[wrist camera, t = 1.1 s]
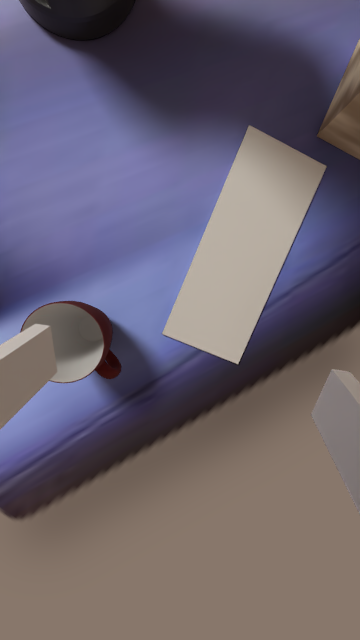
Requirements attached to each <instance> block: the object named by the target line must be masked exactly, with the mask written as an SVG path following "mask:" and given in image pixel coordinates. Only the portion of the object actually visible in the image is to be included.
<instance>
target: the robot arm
mask: <svg viewBox="0 0 360 640" xmlns="http://www.w3.org/2000/svg"><path fill="white" fill-rule="evenodd" d="M19 1H20V2H21V4H22V5H23V7H24V8H25V9H26V11H27V12H28V13H29V14H30V15H31V16H32V17H33V18H34V19H35V20H36V21H37V22H38V23H39V24H40V25H42V26H43V27H44V28H46V29H47V30H49V31H51V32H53V33H55V34H57V35H60V36H62V37H65V38H70V39H76V40H88V39H94V38H98V37H101V36H104V35H106V34H108V33H109V32H111V31H113V30H114V29H115V28H117V27H118V26H119V25H120V24H121V23H122V22H123V21H124V20H125V18H126V17H127V15H128V14H129V12H130V11H131V9H132V7H133V4H134V2H135V0H19ZM56 373H57V366H56V359H55V353H54V346H53V340H52V333H51V327H50V326H48V325H41V324H34V325H32V326H31V327H29V328H28V329H26V330H24V331H23V332H21V333H19V334H18V335H16V336H14V337H13V338H11V339H9V340H8V341H6V342H5V343H3V344H1V345H0V429H1V428H2V427H3V426H4V425H5V424H6V423H7V422H8V421H9V420H10V419H11V418H12V417H13V416H14V415H15V414H16V413H17V412H18V411H19V410H20V409H21V408H22V407H23V406H24V405H25V404H26V403H27V402H28V401H29V400H30V399H31V398H32V397H33V396H34V395H35V394H36V393H37V392H38V391H39V390H40V389H41V388H42V387H43V386H44V385H45V384H46V383H47V382H48V381H49V380H50V379H51V378H52V377H53V376H54V375H55V374H56ZM311 416H312V418H313V420H314V422H315V424H316V426H317V428H318V430H319V432H320V434H321V436H322V438H323V440H324V442H325V445H326V446H327V449H328V451H329V453H330V455H331V457H332V459H333V461H334V463H335V465H336V467H337V469H338V471H339V473H340V475H341V477H342V479H343V481H344V483H345V485H346V487H347V489H348V491H349V493H350V495H351V498H352V500H353V502H354V504H355V506H356V507H357V510H358V512H359V514H360V383H359V382H358V380H357V379H356V378H355V377H354V376H353V375H352V373H351V372H348V371H341V370H335V369H332V370H331V372H330V374H329V376H328V379H327V381H326V383H325V385H324V387H323V389H322V392H321V394H320V396H319V398H318V400H317V402H316V405H315V407H314V409H313V411H312V413H311Z"/></svg>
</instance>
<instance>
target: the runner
mask: <svg viewBox="0 0 360 640" xmlns="http://www.w3.org/2000/svg"><path fill="white" fill-rule="evenodd" d="M326 167H327V166H325V165H323V164H321V163H320V162H318V161H316V160H314V159H312V158H310V157H308V156H306V155H305V154H303V153H301V152H299V151H297V150H295V149H293V148H291V147H290V146H288V145H286V144H284V143H282V142H280V141H278V140H276V139H275V138H273V137H271V136H269V135H267V134H265V133H263V132H261V131H260V130H258V129H256V128H254V127H252V126H250V125H249V127H248V129H247V131H246V134H245V136H244V138H243V141H242V143H241V146H240V148H239V150H238V153H237V155H236V158H235V160H234V162H233V165H232V167H231V170H230V172H229V174H228V177H227V179H226V182H225V184H224V186H223V189H222V191H221V194H220V196H219V198H218V201H217V203H216V206H215V208H214V210H213V213H212V215H211V218H210V220H209V222H208V225H207V227H206V230H205V232H204V234H203V237H202V239H201V242H200V244H199V246H198V249H197V251H196V254H195V256H194V258H193V261H192V263H191V266H190V268H189V270H188V273H187V275H186V278H185V280H184V282H183V285H182V287H181V290H180V292H179V294H178V297H177V299H176V302H175V304H174V306H173V309H172V311H171V314H170V316H169V318H168V321H167V323H166V326H165V328H164V330H163V333H162V334H164V335H166V336H168V337H171V338H173V339H176V340H178V341H181V342H183V343H186V344H188V345H191V346H193V347H196V348H198V349H201V350H203V351H206V352H208V353H211V354H213V355H216V356H218V357H221V358H223V359H226V360H228V361H231V362H233V363H236V364H238V363H239V361H240V359H241V356H242V354H243V352H244V350H245V348H246V345H247V343H248V341H249V339H250V336H251V334H252V332H253V330H254V327H255V325H256V323H257V321H258V319H259V316H260V314H261V312H262V310H263V307H264V305H265V303H266V301H267V299H268V296H269V294H270V292H271V290H272V287H273V285H274V283H275V281H276V278H277V276H278V274H279V272H280V270H281V267H282V265H283V263H284V261H285V258H286V256H287V254H288V252H289V249H290V247H291V245H292V243H293V241H294V238H295V236H296V234H297V232H298V229H299V227H300V225H301V223H302V221H303V218H304V216H305V214H306V212H307V209H308V207H309V205H310V203H311V200H312V198H313V196H314V194H315V192H316V189H317V187H318V185H319V183H320V180H321V178H322V176H323V174H324V172H325V169H326Z"/></svg>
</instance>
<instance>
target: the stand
mask: <svg viewBox="0 0 360 640" xmlns="http://www.w3.org/2000/svg"><path fill="white" fill-rule="evenodd" d="M317 137H319V138H321V139H323V140H324V141H326V142H328V143H330V144H332V145H334V146H335V147H337V148H339V149H341V150H343V151H345V152H346V153H348V154H350V155H352V156H354V157H355V158H357V159H359V160H360V39H359V41H358V43H357V46H356V48H355V50H354V52H353V55H352V57H351V59H350V62H349V64H348V66H347V68H346V71H345V73H344V75H343V77H342V80H341V82H340V84H339V86H338V89H337V91H336V93H335V96H334V98H333V100H332V102H331V105H330V107H329V109H328V111H327V114H326V116H325V118H324V121H323V123H322V125H321V127H320V130H319V132H318V134H317Z"/></svg>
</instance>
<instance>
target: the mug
mask: <svg viewBox="0 0 360 640" xmlns="http://www.w3.org/2000/svg"><path fill="white" fill-rule="evenodd" d="M34 324H41V325H48V326H50V327H51V333H52V340H53V346H54V353H55V359H56V366H57V373H56V374H55V375H54V376H53V377H52V378H51V379H50V380H49V381H52V382H56V383H71V382H75V381H78V380H81V379H83V378H85V377H87V376H88V375H90V374H91V373H92V372H93V371H94V370H95V371H96V372H97V373H98V374H99V375H100V376H102V377H104V378H106V379H113V378H115V377H117V376H118V375H119V373H120V372H121V364H120V362H119V360H118V359H117V357H116V356H115V355H114V354H113V352H112V351H111V350H110V349H109V348H110V345H111V340H112V334H113V331H112V325H111V322H110V320H109V318H108V317H107V316H106V315H105V314H104V313H103V312H102V311H101V310H99V309H97V308H95V307H93V306H90V305H88V304H85V303H82V302H76V301H61V302H54V303H49V304H46V305H44V306H41V307H39V308H38V309H36V310H35V311H33V312H32V313H31V314H30V315H29V316H28V318H27V319H26V320H25V322H24V324H23V326H22V328H21V332H23V331H24V330H26V329H28V328H29V327H31V326H32V325H34ZM21 332H20V333H21ZM105 360H106V361H107V363H108V364H107V363H106V362H105Z"/></svg>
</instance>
